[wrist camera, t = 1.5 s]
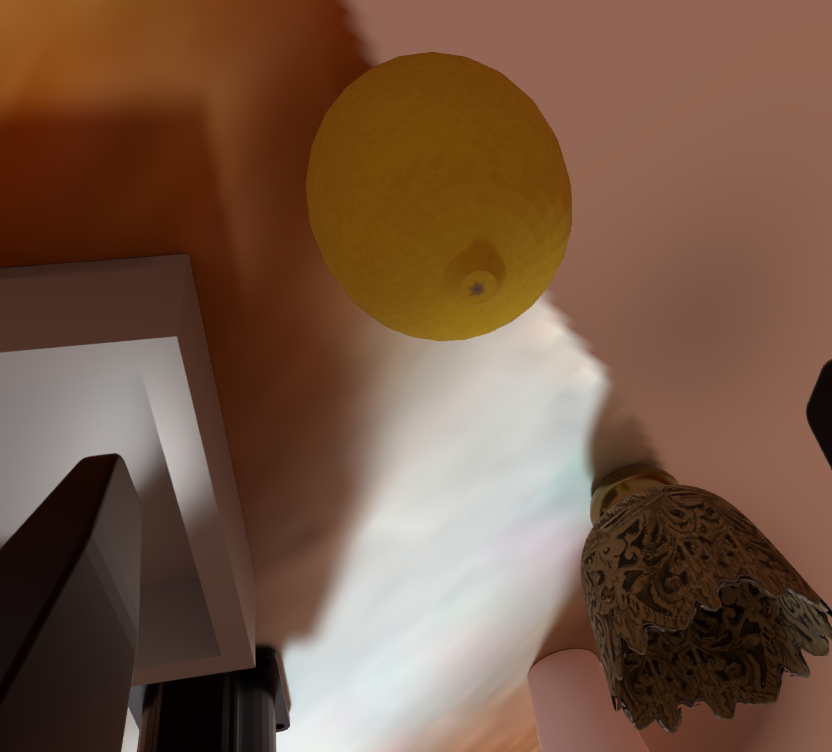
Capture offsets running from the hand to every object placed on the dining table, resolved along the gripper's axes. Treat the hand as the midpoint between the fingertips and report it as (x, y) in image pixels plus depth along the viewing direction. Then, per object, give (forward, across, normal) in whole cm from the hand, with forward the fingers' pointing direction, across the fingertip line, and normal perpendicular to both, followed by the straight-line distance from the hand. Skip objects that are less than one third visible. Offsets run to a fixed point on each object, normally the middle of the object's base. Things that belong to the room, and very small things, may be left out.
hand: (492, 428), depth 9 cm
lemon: (+12, -1, +1) cm, 12 cm away
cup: (+12, -9, +16) cm, 22 cm away
